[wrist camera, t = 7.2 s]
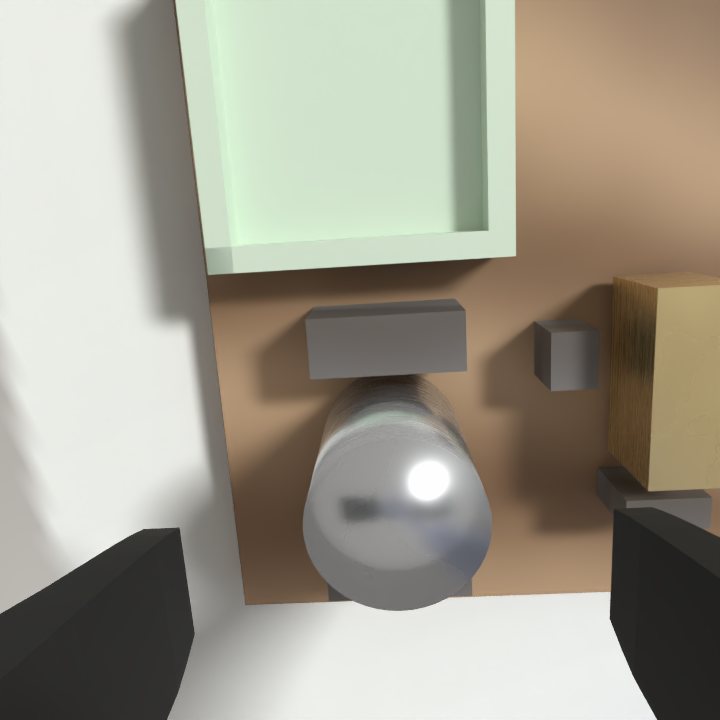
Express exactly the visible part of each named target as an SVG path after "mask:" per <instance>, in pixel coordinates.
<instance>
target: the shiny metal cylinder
mask: <svg viewBox="0 0 720 720" xmlns="http://www.w3.org/2000/svg"><path fill="white" fill-rule="evenodd" d="M303 535H304V541H305V545H306V548H307V551H308V554H309V556H310V558H311V560H312V563H313V564H314V566H315V567H316V569H317V571H318V572H319V573H320V575H321V576H322V577H323V578H324V579H325V580H326V582H327V583H329V584H330V585H331V586H332V587H333V588H334V589H335V590H337V591H338V592H340V593H341V594H342V595H344V596H345V597H347V598H349V599H351V600H353V601H355V602H357V603H360V604H363V605H365V606H369V607H372V608H376V609H383V610H393V611H403V610H414V609H418V608H423V607H427V606H430V605H433V604H436V603H438V602H440V601H442V600H444V599H446V598H448V597H450V596H451V595H453V594H454V593H456V592H457V591H458V590H460V589H461V588H462V587H463V586H465V585H466V584H467V583H468V581H469V580H470V579H471V578H472V577H473V576H474V575H475V573H476V572H477V571H478V569H479V568H480V566H481V564H482V562H483V561H484V559H485V557H486V554H487V551H488V548H489V545H490V540H491V535H492V515H491V509H490V505H489V501H488V498H487V496H486V493H485V490H484V488H483V485H482V483H481V480H480V477H479V475H478V472H477V470H476V467H475V464H474V462H473V459H472V456H471V454H470V451H469V449H468V446H467V443H466V441H465V438H464V436H463V433H462V430H461V428H460V425H459V422H458V420H457V417H456V415H455V412H454V410H453V407H452V405H451V404H450V402H449V400H448V399H447V398H446V396H445V395H444V394H443V393H442V392H441V391H440V390H439V389H438V388H437V387H436V386H435V385H433V384H432V383H431V382H429V381H428V380H426V379H424V378H422V377H420V376H417V375H415V374H407V375H388V376H369V377H361V378H360V379H358V380H356V381H354V382H353V383H351V384H350V385H349V386H347V387H346V388H345V389H344V390H343V391H342V392H341V393H340V394H339V396H338V397H337V398H336V400H335V401H334V403H333V404H332V406H331V408H330V411H329V413H328V416H327V420H326V424H325V428H324V432H323V436H322V440H321V444H320V448H319V452H318V456H317V460H316V464H315V468H314V472H313V476H312V480H311V484H310V488H309V492H308V496H307V500H306V504H305V508H304V515H303Z"/></svg>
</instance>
